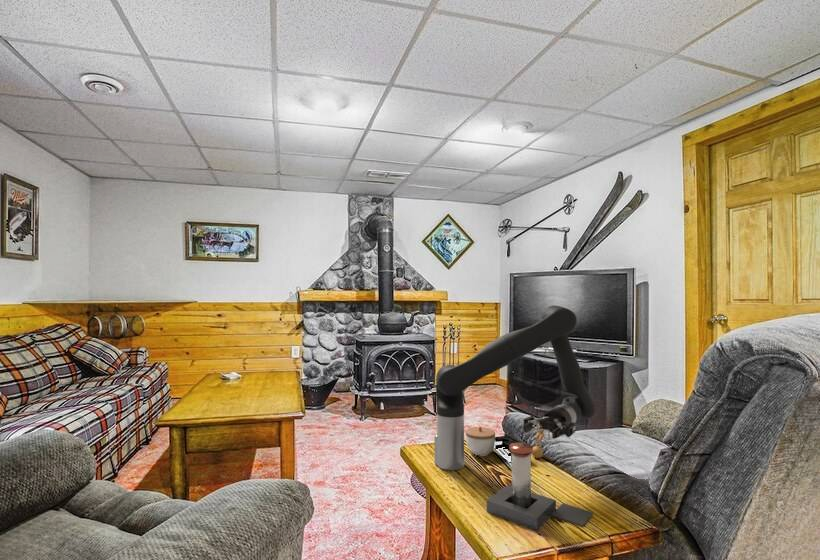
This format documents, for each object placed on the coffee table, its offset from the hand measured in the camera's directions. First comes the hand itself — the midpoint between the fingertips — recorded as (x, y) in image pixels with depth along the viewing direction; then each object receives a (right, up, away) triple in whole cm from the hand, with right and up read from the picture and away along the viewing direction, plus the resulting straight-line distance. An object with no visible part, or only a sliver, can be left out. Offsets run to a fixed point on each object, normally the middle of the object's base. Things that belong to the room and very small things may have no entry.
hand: (538, 432), depth 123 cm
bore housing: (-7, -18, -9) cm, 21 cm away
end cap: (-1, -19, +29) cm, 35 cm away
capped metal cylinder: (-7, -18, -9) cm, 21 cm away
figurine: (+9, -19, +29) cm, 35 cm away
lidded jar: (-11, -19, +33) cm, 40 cm away
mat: (+6, -18, -11) cm, 22 cm away
